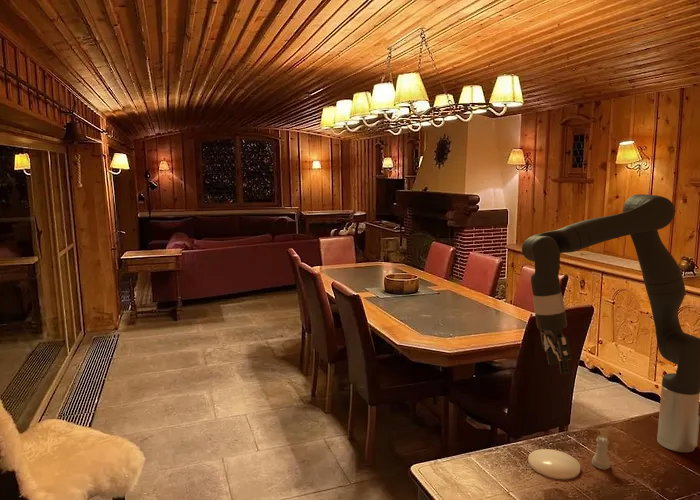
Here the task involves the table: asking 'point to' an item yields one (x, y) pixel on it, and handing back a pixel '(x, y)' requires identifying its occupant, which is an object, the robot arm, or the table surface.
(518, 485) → the table surface
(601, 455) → the rook chess piece
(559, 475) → the cream plate
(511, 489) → the table surface
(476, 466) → the table surface
